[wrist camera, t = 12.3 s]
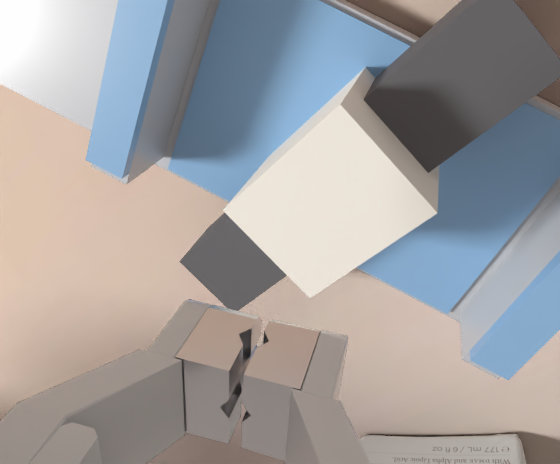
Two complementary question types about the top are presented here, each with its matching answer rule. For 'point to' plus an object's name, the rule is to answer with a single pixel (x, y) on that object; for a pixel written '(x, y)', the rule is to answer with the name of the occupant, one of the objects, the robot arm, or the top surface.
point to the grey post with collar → (373, 156)
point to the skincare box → (444, 449)
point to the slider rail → (287, 120)
